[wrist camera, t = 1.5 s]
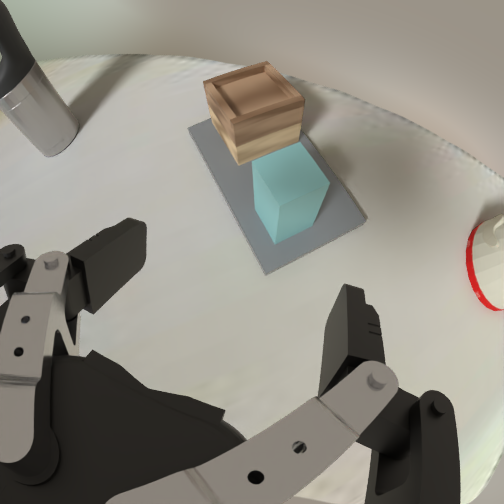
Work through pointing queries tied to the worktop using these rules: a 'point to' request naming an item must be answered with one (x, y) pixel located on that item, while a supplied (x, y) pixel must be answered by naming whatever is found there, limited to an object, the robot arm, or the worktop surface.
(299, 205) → the teal brick
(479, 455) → the worktop surface
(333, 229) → the baseplate
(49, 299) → the robot arm
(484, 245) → the kitchen timer
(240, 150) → the wooden crate
